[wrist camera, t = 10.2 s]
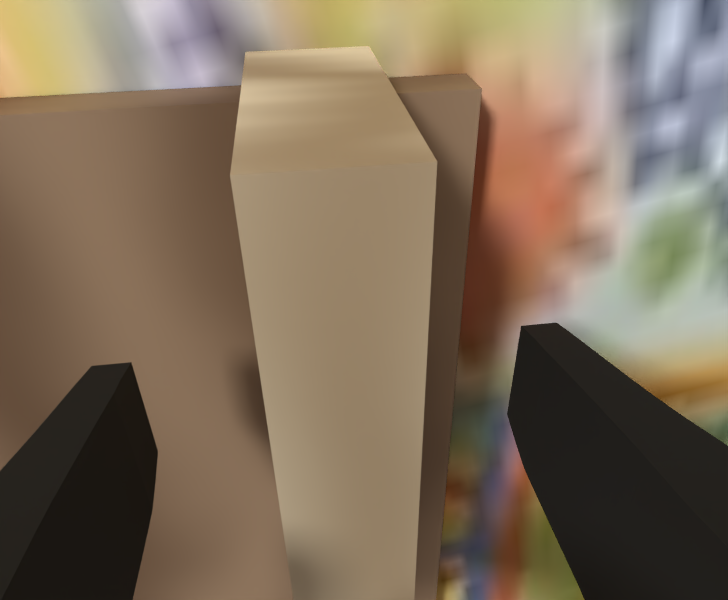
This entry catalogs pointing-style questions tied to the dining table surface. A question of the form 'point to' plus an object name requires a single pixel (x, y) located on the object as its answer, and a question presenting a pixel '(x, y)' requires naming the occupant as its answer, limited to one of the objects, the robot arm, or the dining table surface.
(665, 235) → the dining table surface
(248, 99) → the beige long rectangular bar
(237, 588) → the board
